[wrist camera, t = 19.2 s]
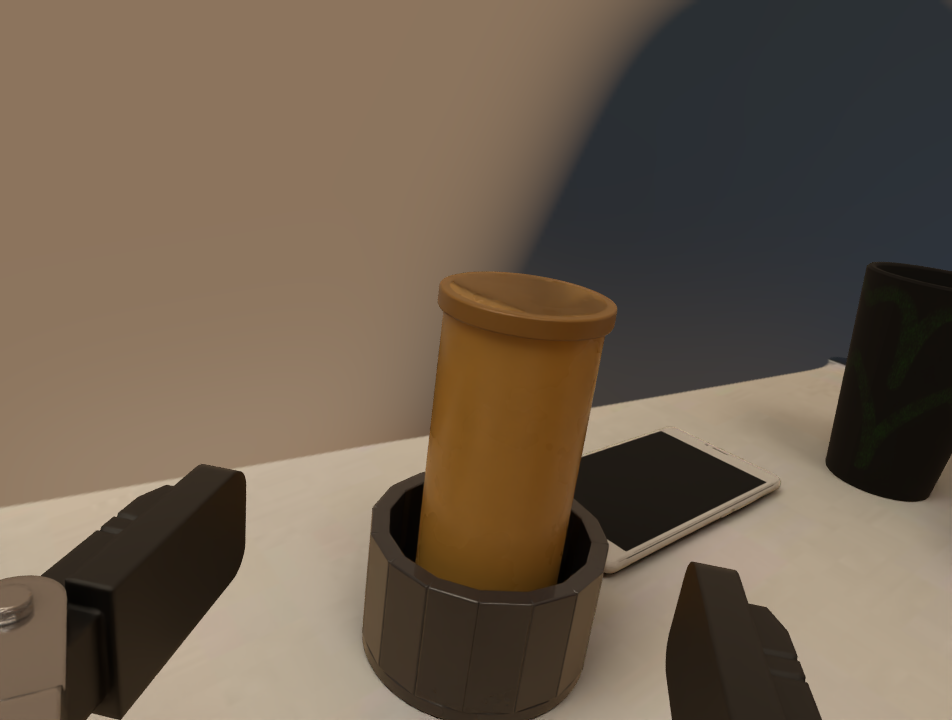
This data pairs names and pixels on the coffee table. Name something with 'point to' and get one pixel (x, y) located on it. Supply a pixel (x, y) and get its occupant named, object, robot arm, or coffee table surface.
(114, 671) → the robot arm
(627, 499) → the smartphone
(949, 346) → the cup
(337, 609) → the coffee table surface
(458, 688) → the pod chamber
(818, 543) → the coffee table surface
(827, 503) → the coffee table surface
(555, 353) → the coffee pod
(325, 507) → the coffee table surface
